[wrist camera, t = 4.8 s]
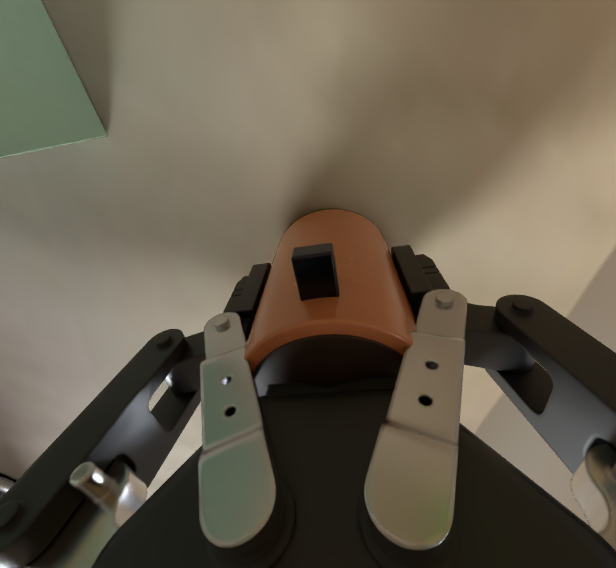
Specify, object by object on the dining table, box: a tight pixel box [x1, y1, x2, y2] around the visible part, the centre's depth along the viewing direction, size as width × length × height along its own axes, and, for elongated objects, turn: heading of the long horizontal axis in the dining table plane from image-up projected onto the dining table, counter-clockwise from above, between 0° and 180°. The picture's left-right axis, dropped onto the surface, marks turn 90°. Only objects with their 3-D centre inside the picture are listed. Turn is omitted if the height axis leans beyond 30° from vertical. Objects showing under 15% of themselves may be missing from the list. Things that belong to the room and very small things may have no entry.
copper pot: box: [244, 209, 417, 397], centre depth 11 cm, size 5×8×8 cm
